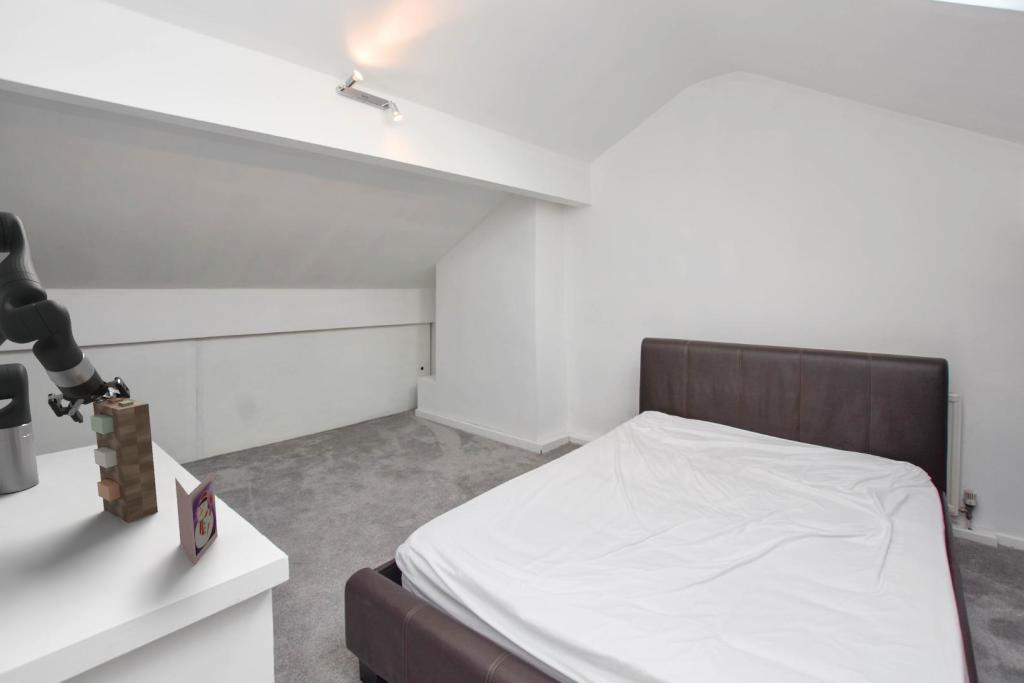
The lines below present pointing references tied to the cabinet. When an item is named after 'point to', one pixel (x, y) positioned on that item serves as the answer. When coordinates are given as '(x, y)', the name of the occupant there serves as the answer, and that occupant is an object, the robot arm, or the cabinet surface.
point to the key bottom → (108, 489)
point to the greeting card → (197, 518)
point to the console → (129, 458)
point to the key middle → (105, 457)
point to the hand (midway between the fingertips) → (102, 414)
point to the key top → (102, 423)
